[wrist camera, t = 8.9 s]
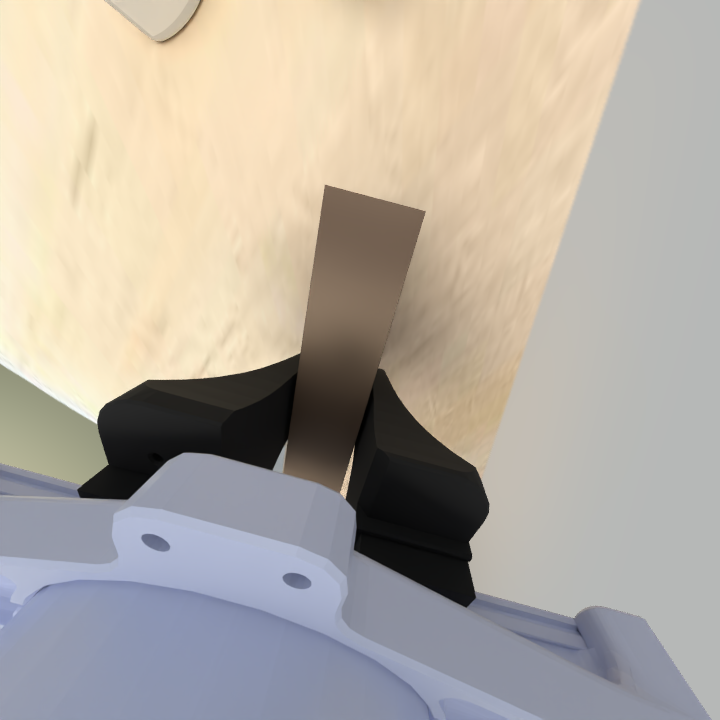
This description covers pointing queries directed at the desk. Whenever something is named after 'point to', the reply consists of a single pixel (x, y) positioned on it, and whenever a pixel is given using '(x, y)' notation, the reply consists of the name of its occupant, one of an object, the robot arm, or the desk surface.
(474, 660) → the robot arm
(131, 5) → the eye dropper bottle
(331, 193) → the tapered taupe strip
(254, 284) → the desk surface
